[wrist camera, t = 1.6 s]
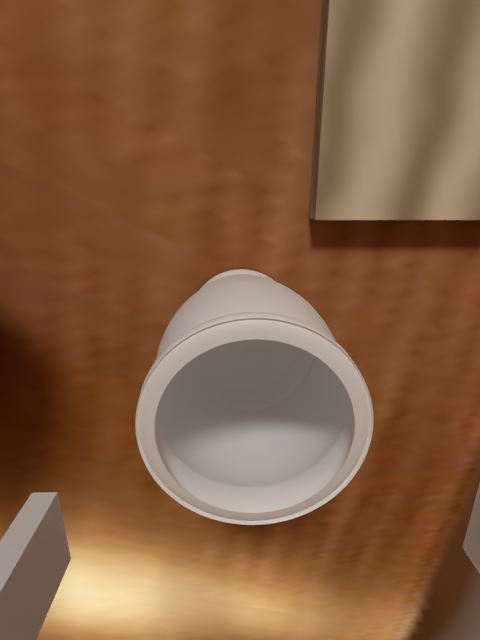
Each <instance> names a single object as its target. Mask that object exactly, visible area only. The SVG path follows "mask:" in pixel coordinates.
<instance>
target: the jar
mask: <svg viewBox="0 0 480 640" xmlns="http://www.w3.org/2000/svg"><path fill="white" fill-rule="evenodd" d="M135 426H136V437H137V443H138V447H139V450H140V453H141V456H142V458H143V461H144V463H145V465H146V467H147V469H148V470H149V472H150V474H151V475H152V477H153V478H154V479H155V481H156V482H157V483H158V484H159V485H160V487H161V488H162V489H163V490H164V491H165V492H166V493H167V494H168V495H170V496H171V497H172V498H173V499H175V500H176V501H177V502H179V503H180V504H182V505H183V506H185V507H186V508H188V509H190V510H192V511H194V512H196V513H198V514H200V515H203V516H205V517H208V518H211V519H214V520H218V521H222V522H227V523H233V524H242V525H262V524H271V523H277V522H282V521H286V520H290V519H293V518H296V517H299V516H302V515H304V514H306V513H309V512H311V511H313V510H315V509H317V508H318V507H320V506H322V505H323V504H325V503H326V502H328V501H329V500H331V499H332V498H333V497H334V496H336V495H337V494H338V493H339V492H340V491H341V490H342V489H343V488H344V487H345V486H346V485H347V484H348V483H349V482H350V481H351V479H352V478H353V477H354V475H355V474H356V473H357V471H358V470H359V468H360V466H361V464H362V463H363V461H364V459H365V456H366V454H367V451H368V449H369V445H370V442H371V437H372V431H373V407H372V401H371V397H370V393H369V390H368V388H367V385H366V383H365V380H364V378H363V376H362V375H361V373H360V371H359V370H358V368H357V366H356V365H355V363H354V362H353V360H352V359H351V358H350V356H349V355H348V354H347V352H346V351H345V350H344V349H343V348H342V347H341V346H340V345H339V344H338V343H337V342H336V341H335V339H334V337H333V335H332V334H331V332H330V330H329V328H328V327H327V325H326V324H325V322H324V321H323V319H322V318H321V317H320V315H319V314H318V313H317V312H316V310H315V309H314V308H313V307H312V306H311V305H310V304H309V303H308V302H307V301H306V300H304V299H303V298H302V297H301V296H300V295H298V294H297V293H295V292H294V291H292V290H291V289H289V288H287V287H286V286H284V285H282V284H279V283H277V282H275V281H274V280H273V279H271V278H270V277H268V276H266V275H264V274H262V273H259V272H256V271H252V270H245V269H237V270H230V271H226V272H223V273H221V274H218V275H216V276H215V277H213V278H212V279H210V280H209V281H208V282H206V283H205V284H204V285H203V286H202V287H201V289H200V290H199V291H198V292H196V293H195V294H194V295H193V296H191V297H190V298H189V299H188V300H187V301H186V302H185V303H184V304H183V305H182V306H181V307H180V309H179V310H178V311H177V312H176V314H175V315H174V317H173V318H172V320H171V321H170V323H169V325H168V327H167V329H166V331H165V333H164V335H163V337H162V340H161V343H160V346H159V349H158V353H157V357H156V361H155V363H154V364H153V366H152V367H151V369H150V371H149V373H148V374H147V377H146V379H145V381H144V383H143V386H142V389H141V392H140V396H139V400H138V404H137V410H136V421H135Z"/></svg>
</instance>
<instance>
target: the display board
mask: <svg viewBox="0 0 480 640" xmlns="http://www.w3.org/2000/svg"><path fill="white" fill-rule="evenodd" d="M309 218H310V219H313V220H480V0H322V13H321V29H320V45H319V62H318V78H317V95H316V111H315V128H314V144H313V161H312V177H311V193H310V210H309Z"/></svg>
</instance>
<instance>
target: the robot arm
mask: <svg viewBox="0 0 480 640" xmlns="http://www.w3.org/2000/svg"><path fill="white" fill-rule="evenodd" d="M463 549H464V550H465V552H466V554H467V555H468V557H469V558H470V560H471V561H472V563H473V564H474V566H475V567H476V569H477V570H478V572H479V573H480V483H479V487H478V491H477V495H476V498H475V502H474V506H473V510H472V514H471V518H470V521H469V525H468V529H467V533H466V537H465V540H464V544H463ZM70 559H71V557H70V552H69V547H68V542H67V537H66V532H65V527H64V522H63V517H62V512H61V507H60V502H59V497H58V492H38V493H31V495H30V496H29V498H28V499H27V501H26V502H25V504H24V505H23V507H22V509H21V510H20V512H19V513H18V515H17V516H16V518H15V519H14V521H13V522H12V524H11V525H10V527H9V528H8V530H7V531H6V533H5V534H4V536H3V537H2V539H1V541H0V640H36V638H37V636H38V634H39V631H40V629H41V627H42V624H43V622H44V620H45V618H46V615H47V613H48V611H49V608H50V606H51V604H52V601H53V599H54V597H55V594H56V592H57V590H58V587H59V585H60V583H61V580H62V578H63V576H64V573H65V571H66V569H67V566H68V564H69V562H70Z"/></svg>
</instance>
